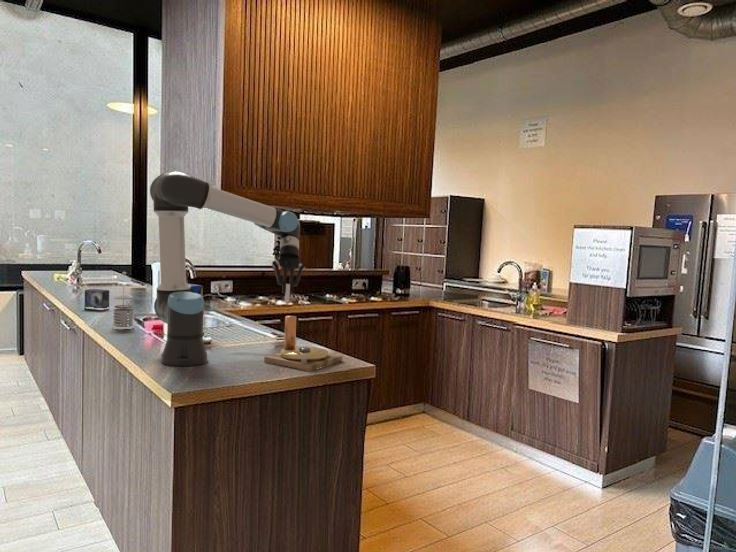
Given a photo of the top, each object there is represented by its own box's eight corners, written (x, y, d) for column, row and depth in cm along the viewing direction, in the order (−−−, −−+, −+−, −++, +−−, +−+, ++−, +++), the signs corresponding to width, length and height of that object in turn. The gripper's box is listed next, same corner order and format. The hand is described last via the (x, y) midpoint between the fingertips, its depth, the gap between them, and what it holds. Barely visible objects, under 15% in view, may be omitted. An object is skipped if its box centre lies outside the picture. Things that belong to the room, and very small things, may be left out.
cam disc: (309, 363, 186) (311, 323, 185) (270, 355, 195) (272, 317, 194) (336, 355, 201) (338, 318, 200) (299, 348, 210) (300, 313, 208)
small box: (83, 309, 288) (83, 289, 287) (91, 308, 294) (91, 288, 293) (101, 311, 286) (102, 291, 285) (109, 309, 292) (110, 289, 292)
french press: (127, 325, 250) (128, 270, 248) (141, 328, 244) (143, 272, 242) (106, 327, 242) (107, 271, 240) (120, 331, 236) (121, 273, 234)
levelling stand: (310, 371, 185) (311, 356, 184) (264, 362, 194) (264, 348, 194) (342, 361, 202) (342, 347, 202) (298, 352, 212) (298, 340, 211)
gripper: (273, 242, 213) (270, 293, 199) (307, 246, 216) (306, 296, 202) (271, 254, 219) (268, 304, 205) (304, 257, 222) (303, 307, 208)
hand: (287, 300), depth 204 cm, fingers closed
